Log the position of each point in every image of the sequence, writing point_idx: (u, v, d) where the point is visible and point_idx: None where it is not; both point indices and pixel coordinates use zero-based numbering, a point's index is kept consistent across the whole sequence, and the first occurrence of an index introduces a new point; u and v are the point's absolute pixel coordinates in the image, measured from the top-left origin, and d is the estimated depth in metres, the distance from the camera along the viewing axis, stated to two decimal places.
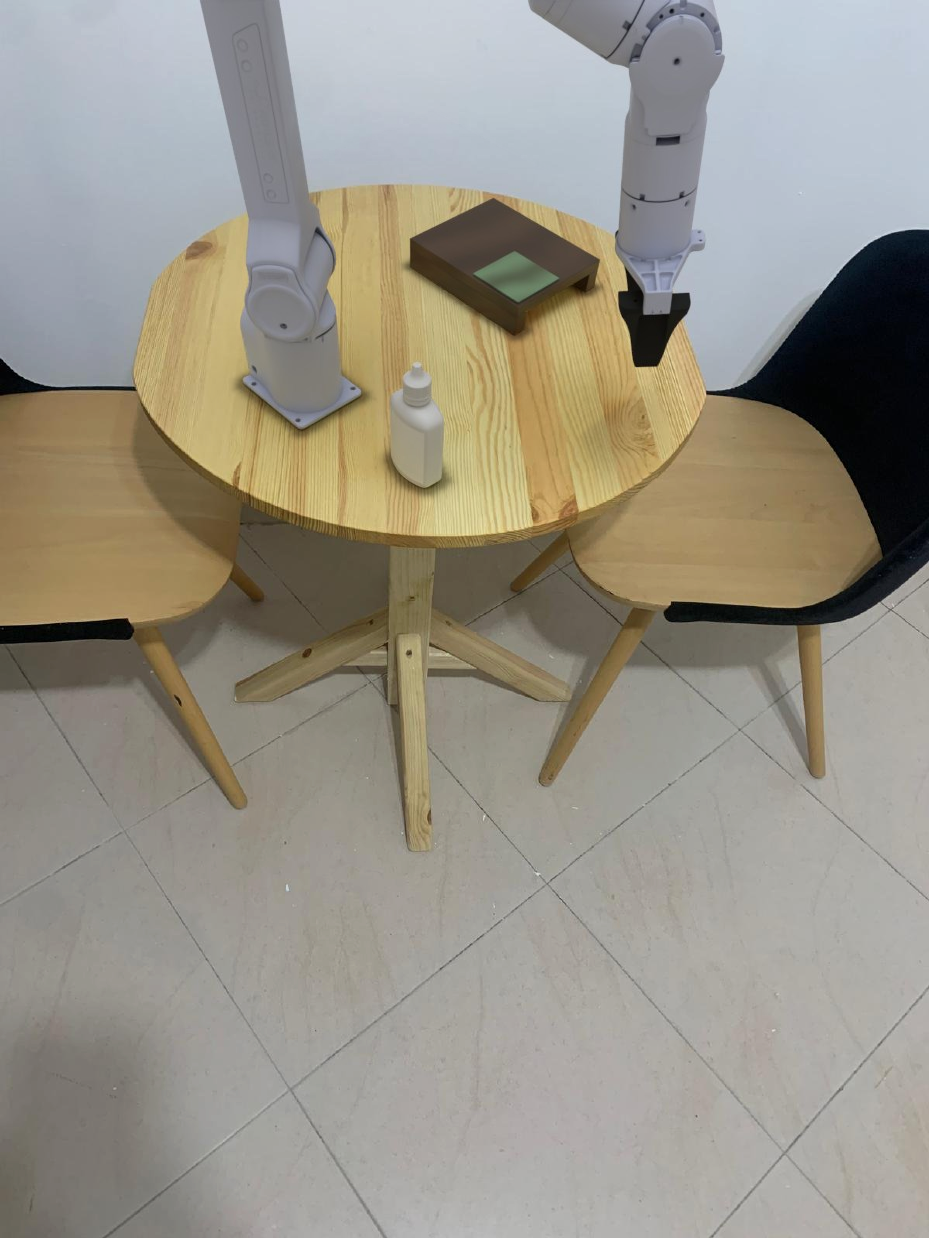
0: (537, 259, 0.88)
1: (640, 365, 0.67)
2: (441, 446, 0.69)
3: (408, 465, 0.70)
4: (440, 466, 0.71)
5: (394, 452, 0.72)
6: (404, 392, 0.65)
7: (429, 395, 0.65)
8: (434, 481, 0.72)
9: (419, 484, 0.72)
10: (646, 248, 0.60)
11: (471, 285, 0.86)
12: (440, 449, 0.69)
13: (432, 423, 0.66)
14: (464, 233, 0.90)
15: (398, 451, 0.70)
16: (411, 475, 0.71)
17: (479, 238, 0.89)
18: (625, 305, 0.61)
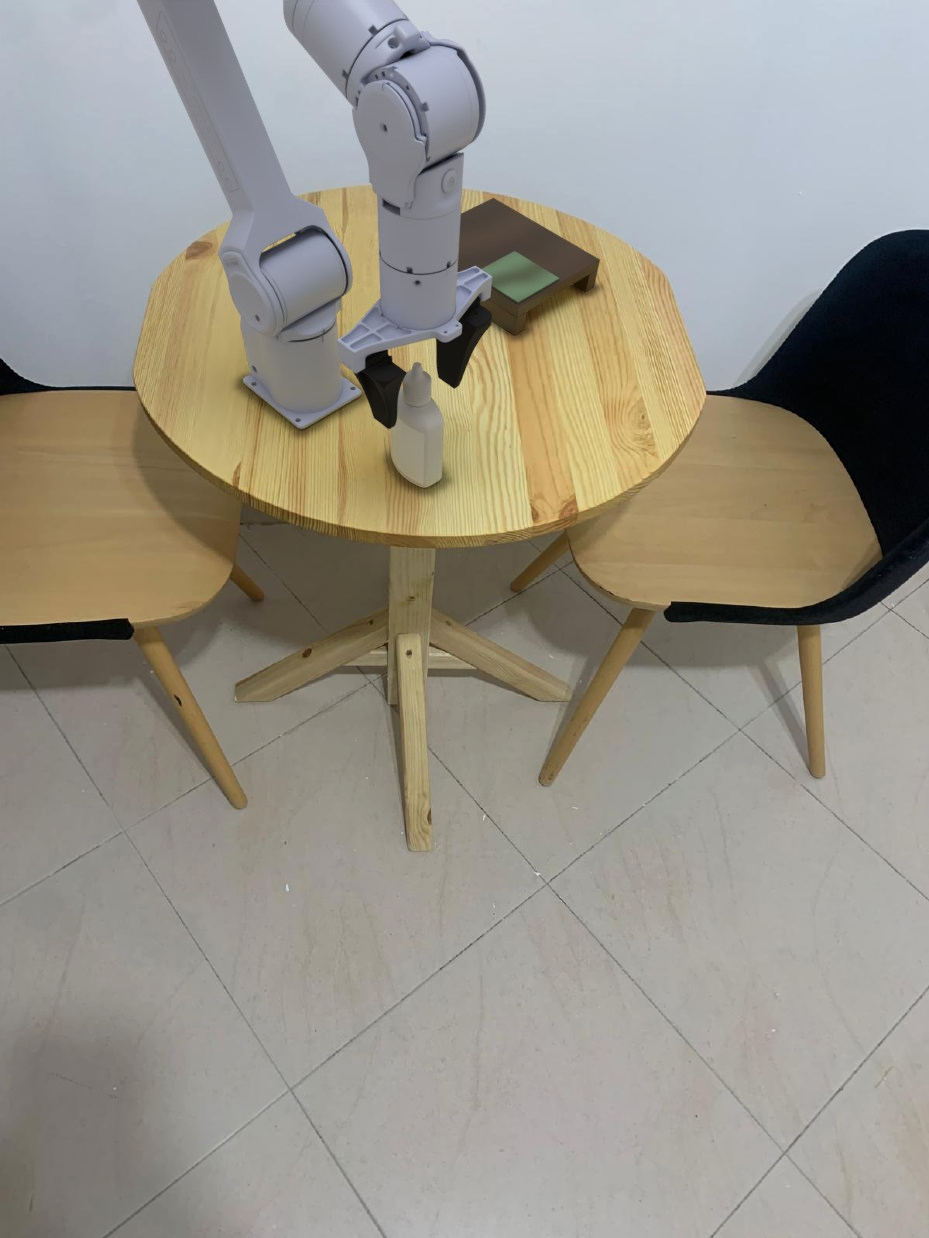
0: (537, 259, 0.88)
1: (376, 418, 0.65)
2: (441, 446, 0.69)
3: (408, 465, 0.70)
4: (440, 466, 0.71)
5: (394, 452, 0.72)
6: (404, 392, 0.65)
7: (429, 395, 0.65)
8: (434, 481, 0.72)
9: (419, 484, 0.72)
10: (384, 305, 0.57)
11: None
12: (440, 449, 0.69)
13: (432, 423, 0.66)
14: (464, 233, 0.90)
15: (398, 451, 0.70)
16: (411, 475, 0.71)
17: (479, 238, 0.89)
18: None
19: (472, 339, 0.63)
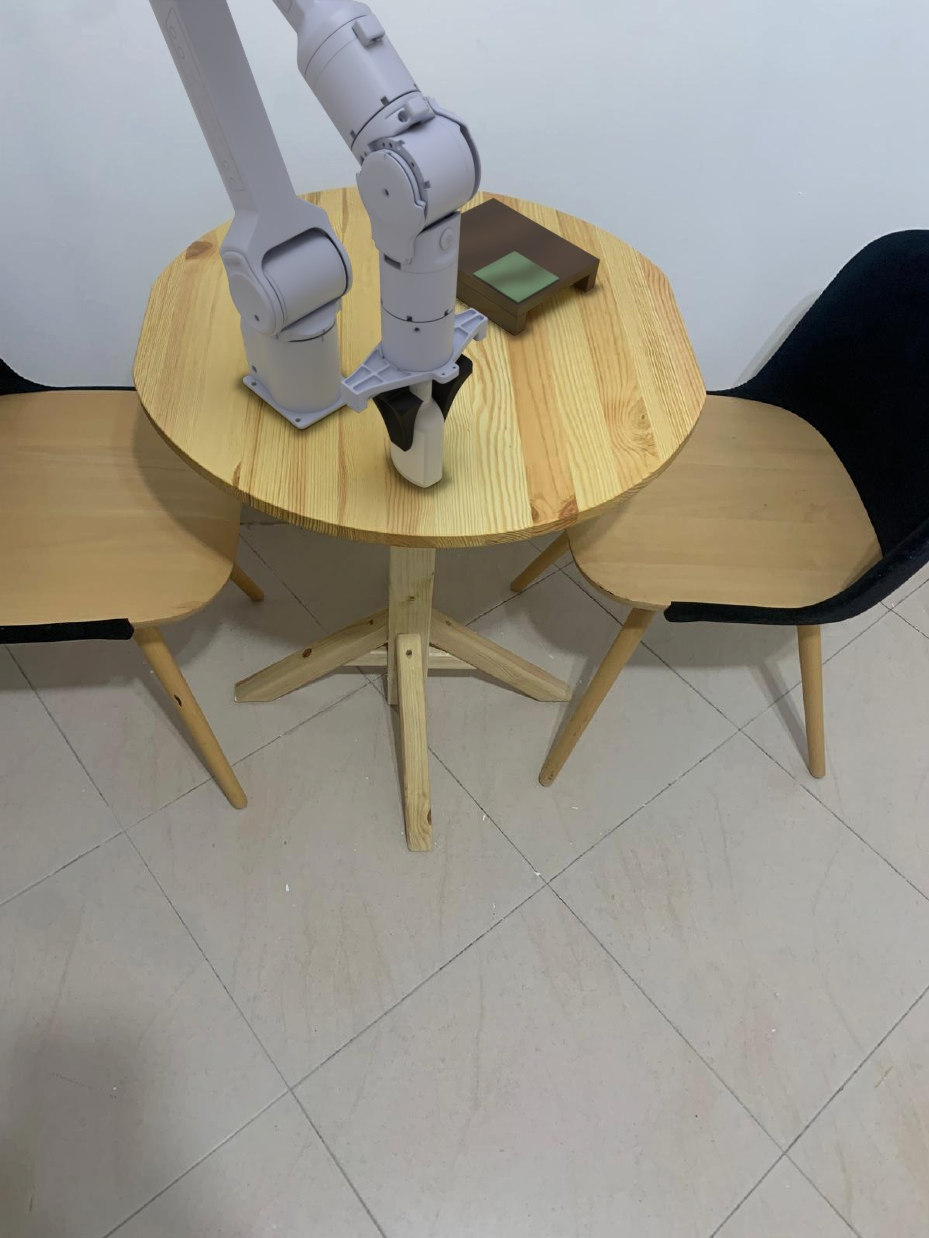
0: (537, 259, 0.88)
1: (393, 441, 0.69)
2: (441, 446, 0.69)
3: (409, 465, 0.70)
4: (440, 466, 0.71)
5: (394, 452, 0.72)
6: None
7: (429, 395, 0.65)
8: (434, 481, 0.72)
9: (419, 484, 0.72)
10: (385, 349, 0.60)
11: (471, 285, 0.86)
12: (441, 449, 0.69)
13: (433, 423, 0.66)
14: (464, 233, 0.90)
15: (398, 451, 0.70)
16: (411, 475, 0.71)
17: (479, 238, 0.89)
18: None
19: (454, 386, 0.65)
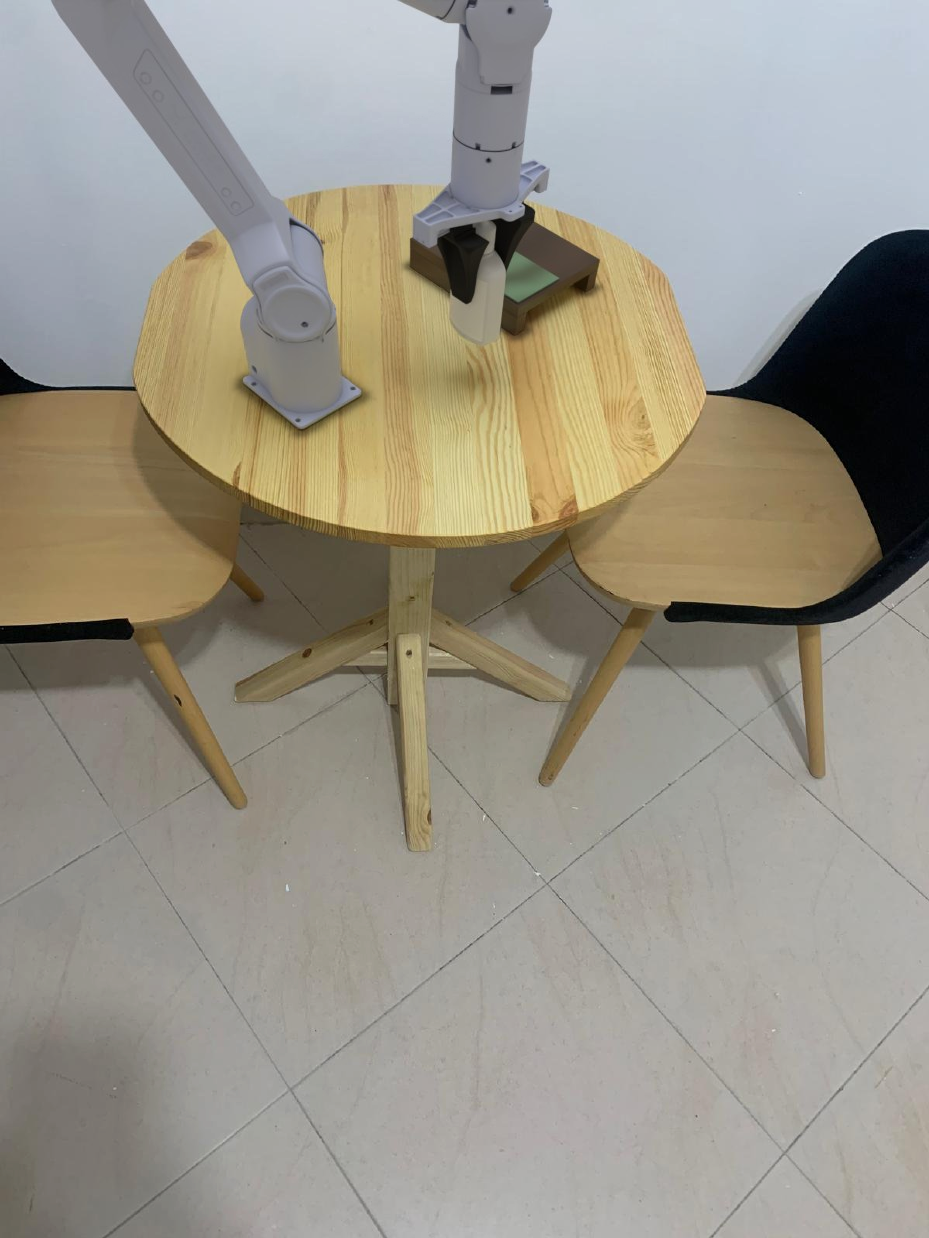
0: (537, 259, 0.88)
1: (454, 295, 0.71)
2: (501, 300, 0.71)
3: (468, 322, 0.73)
4: (499, 323, 0.73)
5: (454, 311, 0.74)
6: None
7: (493, 244, 0.68)
8: (492, 340, 0.74)
9: (478, 342, 0.74)
10: (455, 187, 0.63)
11: None
12: (501, 304, 0.71)
13: (495, 272, 0.68)
14: None
15: (459, 309, 0.73)
16: (470, 333, 0.74)
17: None
18: None
19: (516, 235, 0.68)
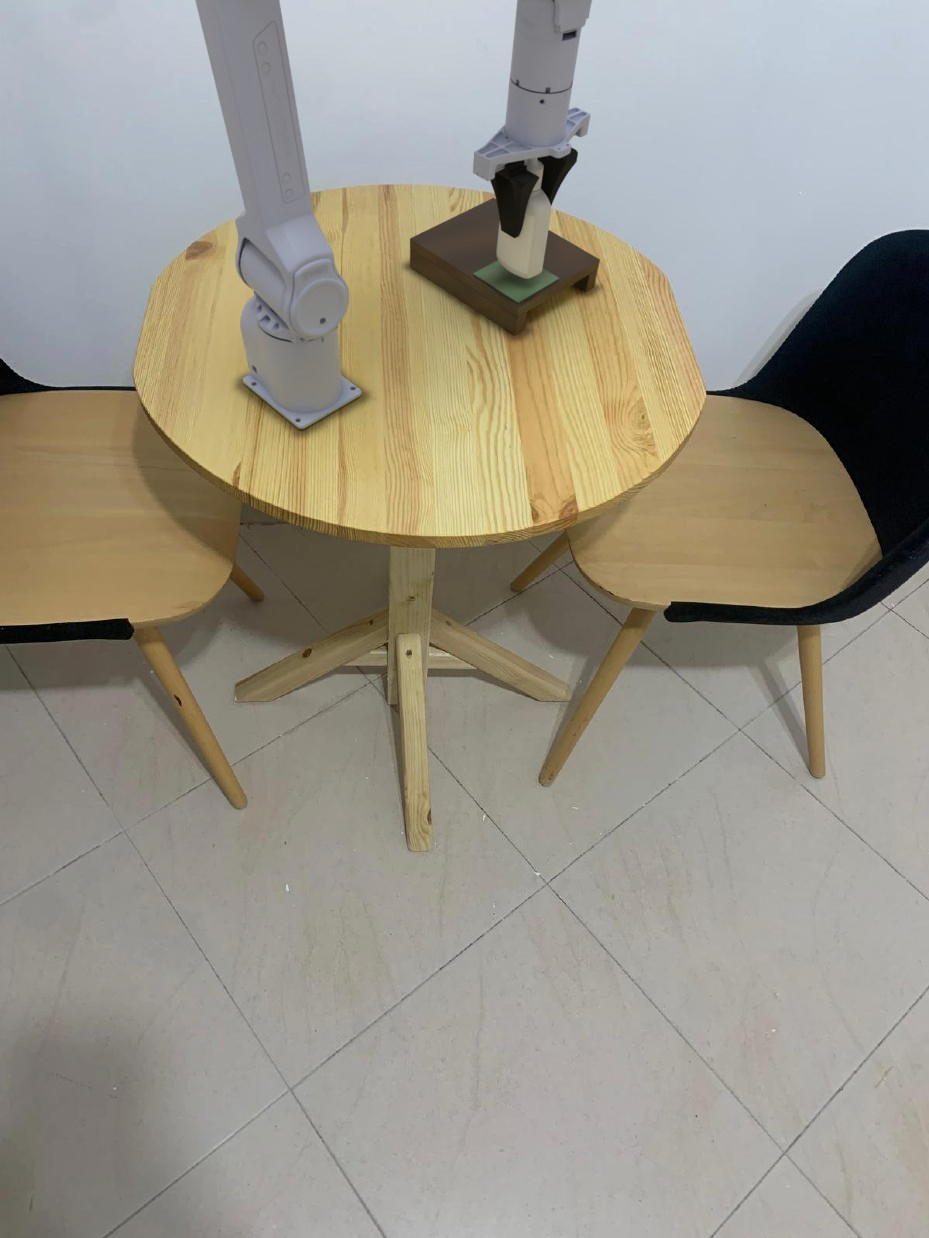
0: None
1: (504, 230, 0.80)
2: (546, 234, 0.80)
3: (515, 255, 0.81)
4: (542, 257, 0.82)
5: (502, 247, 0.83)
6: None
7: (540, 181, 0.76)
8: (536, 272, 0.83)
9: (523, 275, 0.83)
10: (510, 127, 0.71)
11: (471, 285, 0.86)
12: (545, 238, 0.80)
13: (542, 207, 0.77)
14: (464, 233, 0.90)
15: (507, 244, 0.81)
16: (517, 266, 0.82)
17: (479, 238, 0.89)
18: None
19: (561, 173, 0.76)
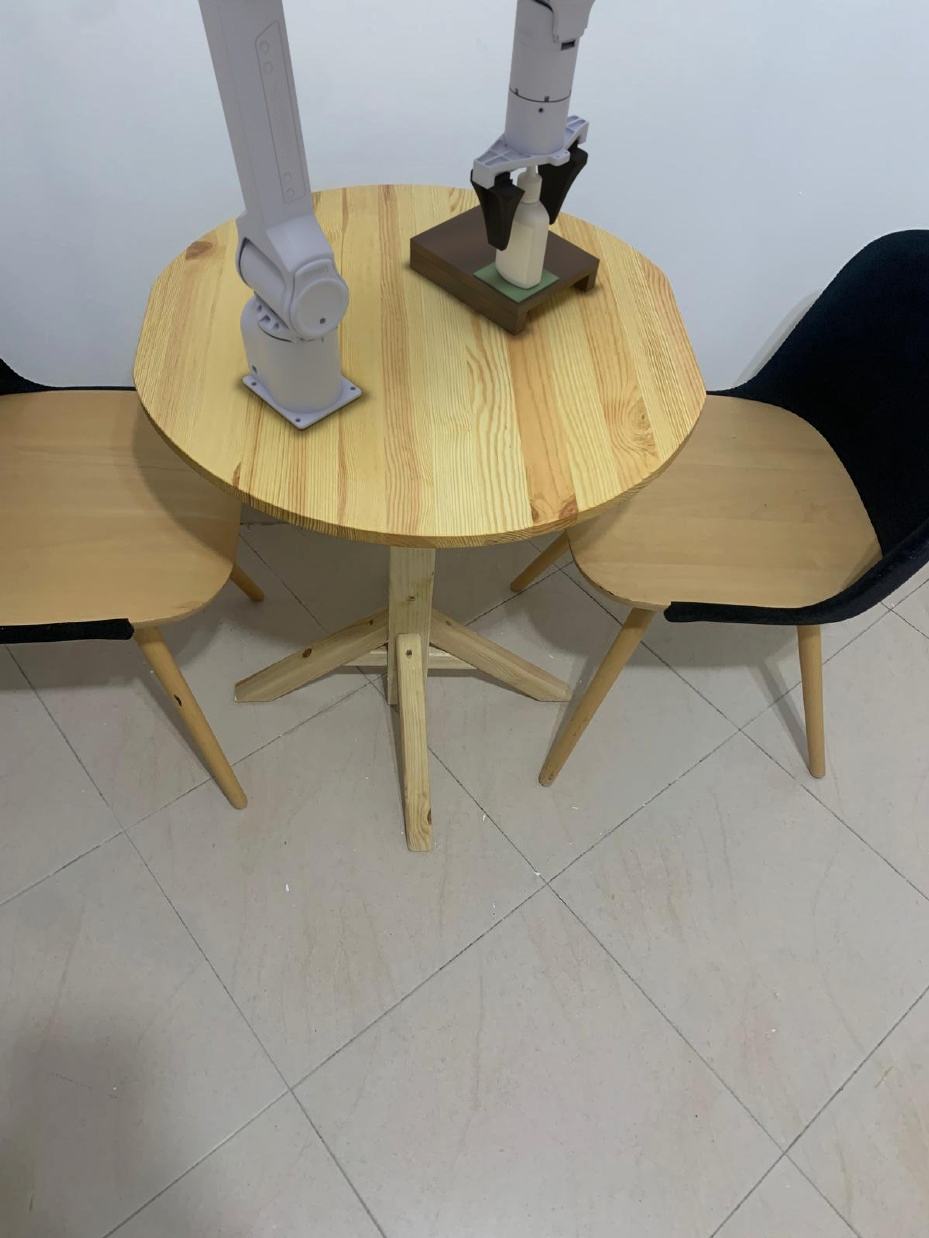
0: None
1: (491, 243, 0.80)
2: (544, 245, 0.81)
3: (514, 266, 0.82)
4: (541, 267, 0.83)
5: (500, 257, 0.84)
6: None
7: (539, 194, 0.77)
8: (534, 283, 0.84)
9: (522, 285, 0.84)
10: (509, 135, 0.72)
11: (471, 285, 0.86)
12: (543, 249, 0.81)
13: (541, 219, 0.78)
14: (464, 233, 0.90)
15: (506, 254, 0.82)
16: (515, 276, 0.83)
17: (479, 238, 0.89)
18: None
19: (571, 175, 0.78)
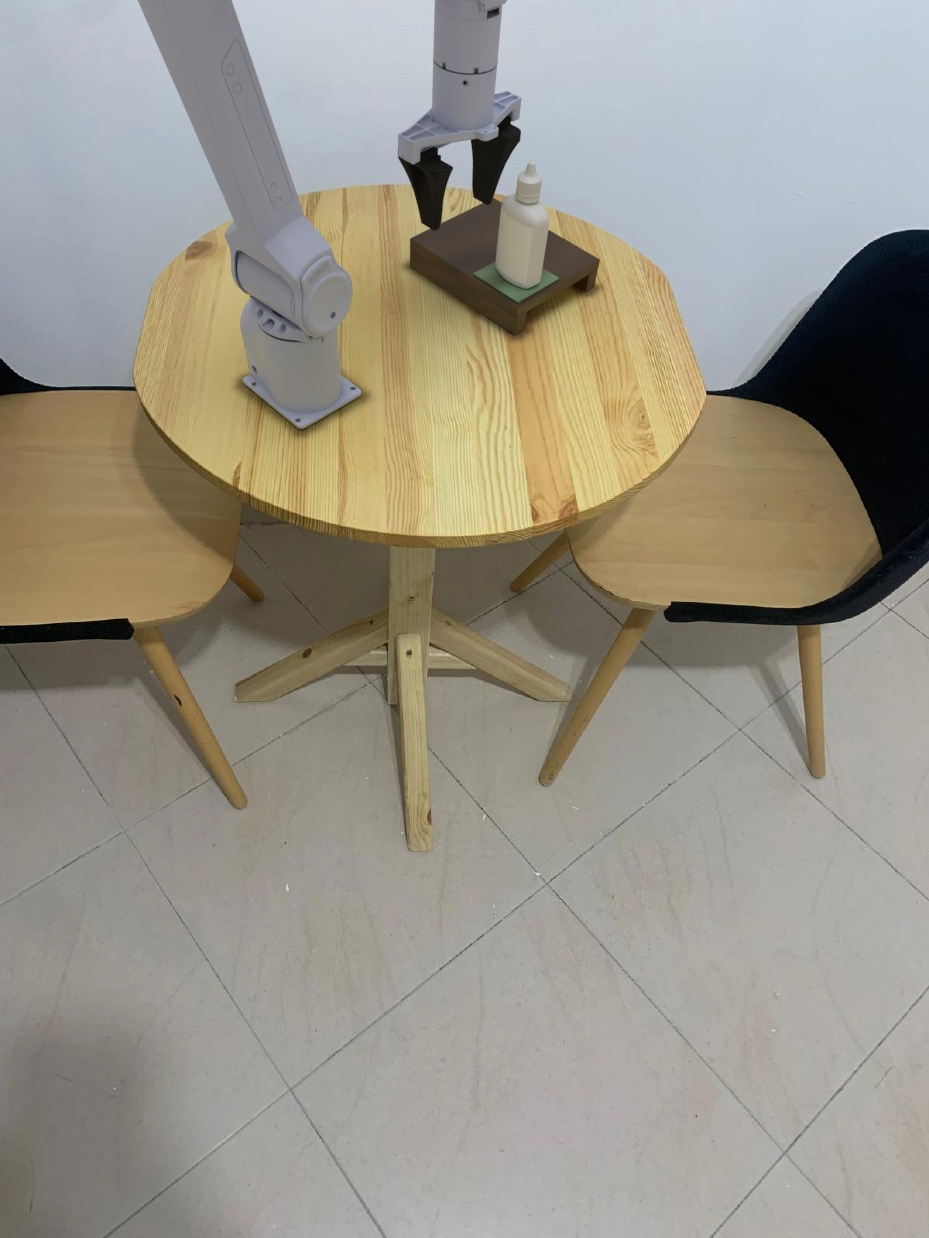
0: None
1: (424, 222, 0.78)
2: (544, 245, 0.81)
3: (514, 266, 0.82)
4: (541, 267, 0.83)
5: (500, 257, 0.84)
6: (518, 190, 0.77)
7: (539, 194, 0.77)
8: (534, 283, 0.84)
9: (522, 285, 0.84)
10: (435, 110, 0.70)
11: (471, 285, 0.86)
12: (543, 249, 0.81)
13: (541, 219, 0.78)
14: (464, 233, 0.90)
15: (506, 254, 0.82)
16: (515, 276, 0.83)
17: (479, 238, 0.89)
18: None
19: (504, 152, 0.76)
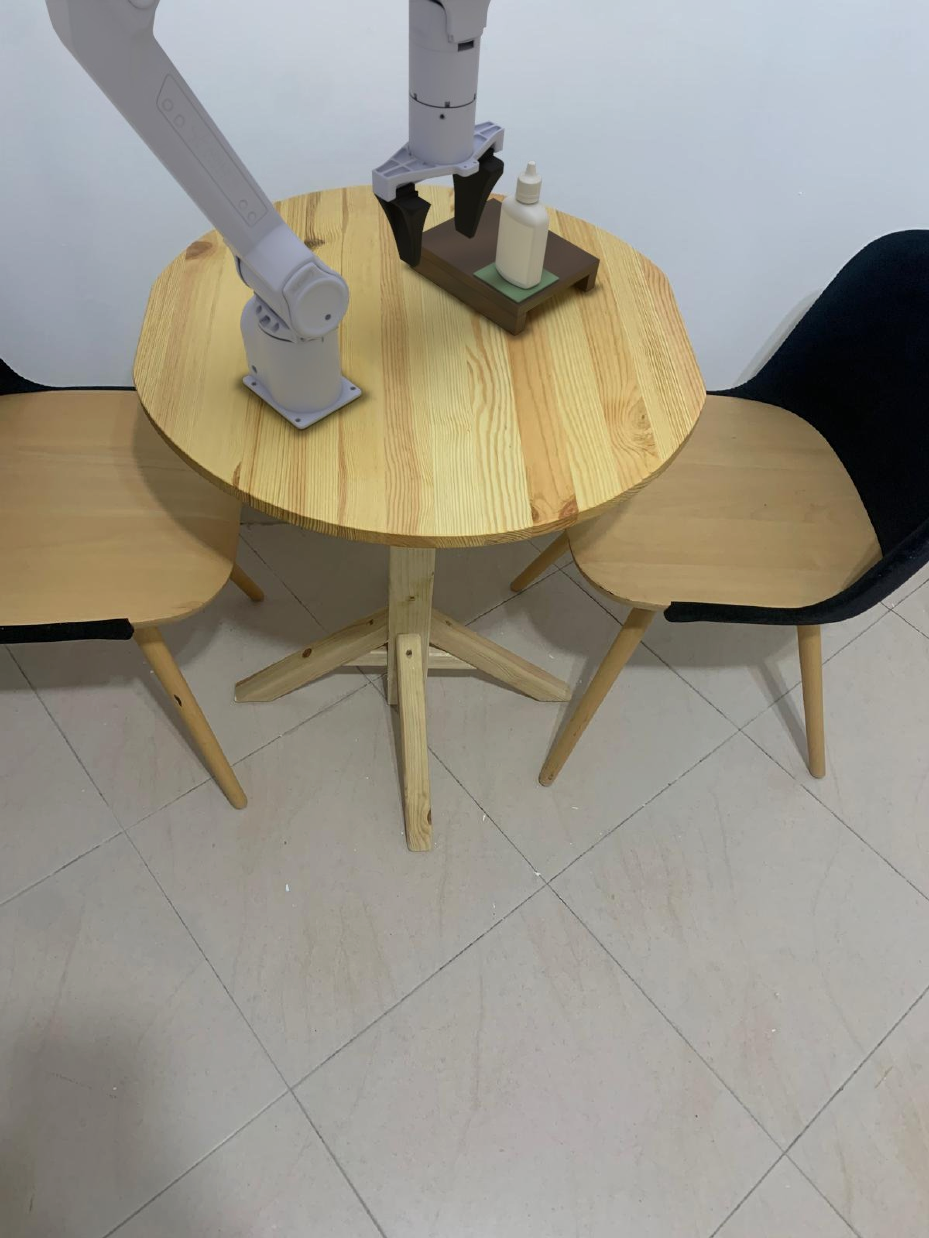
0: None
1: (402, 259, 0.74)
2: (544, 245, 0.81)
3: (514, 266, 0.82)
4: (541, 267, 0.83)
5: (500, 257, 0.84)
6: (518, 190, 0.77)
7: (539, 194, 0.77)
8: (535, 283, 0.84)
9: (522, 285, 0.84)
10: (412, 144, 0.66)
11: (471, 285, 0.86)
12: (543, 249, 0.81)
13: (541, 219, 0.78)
14: None
15: (506, 254, 0.82)
16: (515, 276, 0.83)
17: (479, 238, 0.89)
18: None
19: (486, 185, 0.72)
